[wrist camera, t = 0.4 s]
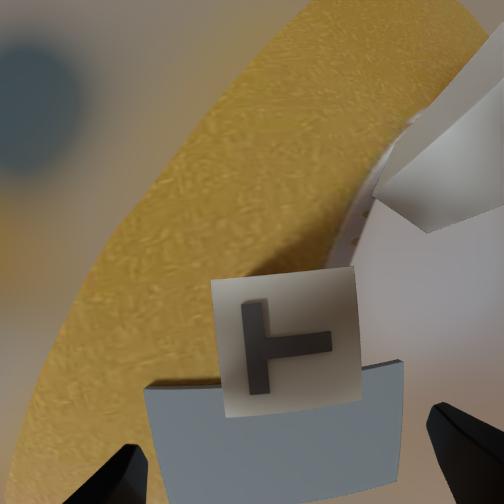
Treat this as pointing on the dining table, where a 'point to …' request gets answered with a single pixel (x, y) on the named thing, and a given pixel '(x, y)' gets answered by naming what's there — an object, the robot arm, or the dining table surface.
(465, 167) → the milk
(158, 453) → the mat
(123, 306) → the dining table surface
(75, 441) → the dining table surface
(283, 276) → the marked block
